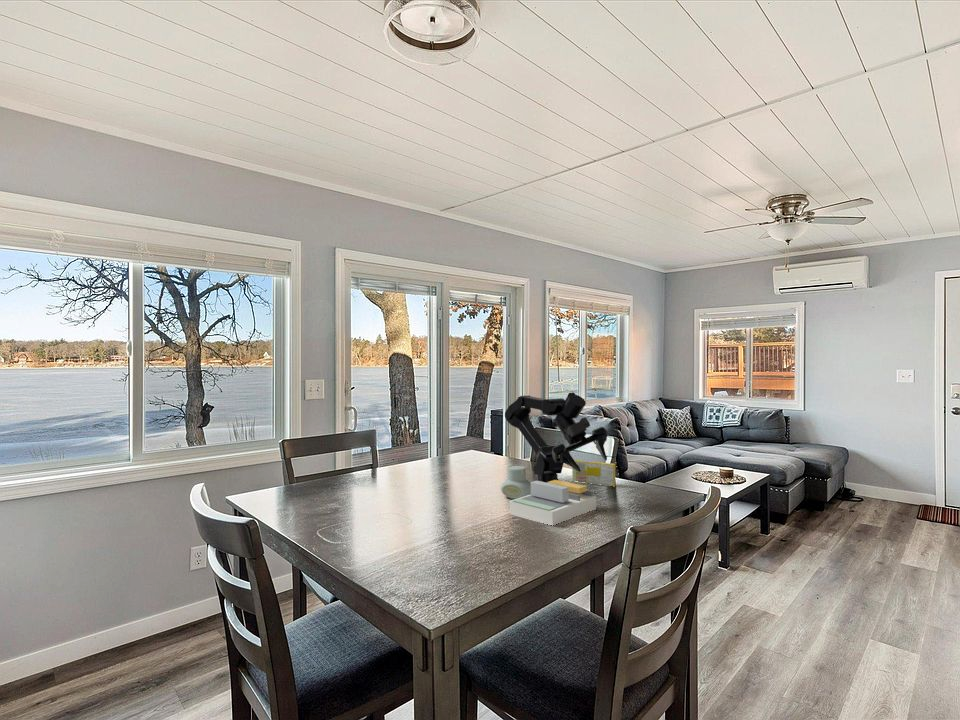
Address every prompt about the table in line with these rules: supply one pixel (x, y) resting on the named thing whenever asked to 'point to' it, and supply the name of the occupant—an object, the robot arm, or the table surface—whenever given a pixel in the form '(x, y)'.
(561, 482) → the yellow rectangular block
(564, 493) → the grey rectangular block
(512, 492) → the air freshener
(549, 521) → the breaker box
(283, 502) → the table surface
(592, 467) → the candy box
